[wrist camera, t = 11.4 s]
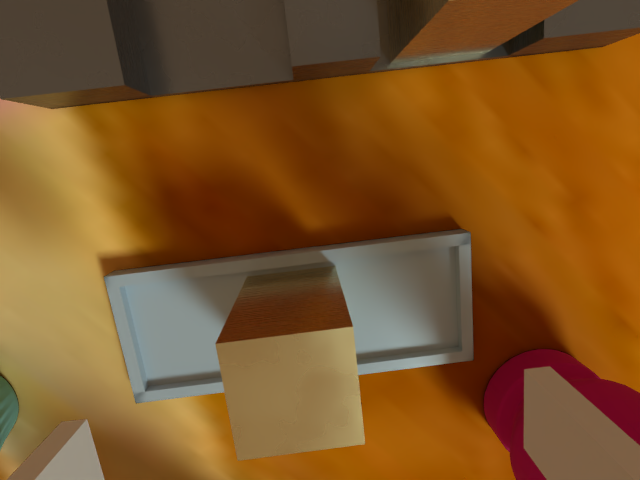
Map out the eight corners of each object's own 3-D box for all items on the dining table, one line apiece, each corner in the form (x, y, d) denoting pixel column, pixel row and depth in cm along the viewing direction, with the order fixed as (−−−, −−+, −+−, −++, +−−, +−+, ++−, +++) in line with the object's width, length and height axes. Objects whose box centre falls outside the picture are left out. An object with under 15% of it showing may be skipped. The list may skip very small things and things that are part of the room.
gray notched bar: (608, -75, 17) (673, -125, 14) (602, 46, 18) (661, 25, 15) (20, -13, 16) (-42, -50, 13) (51, 108, 17) (0, 99, 14)
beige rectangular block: (343, 346, 20) (365, 443, 13) (260, 356, 20) (237, 460, 13) (335, 265, 19) (353, 326, 12) (247, 276, 19) (215, 343, 12)
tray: (462, 228, 19) (470, 232, 18) (465, 350, 21) (473, 360, 20) (113, 271, 19) (103, 276, 18) (143, 391, 21) (135, 403, 20)
